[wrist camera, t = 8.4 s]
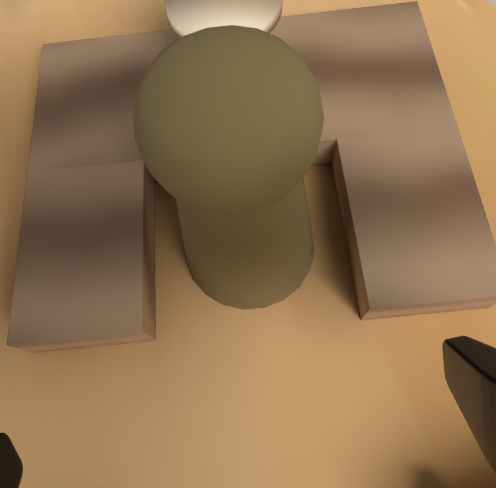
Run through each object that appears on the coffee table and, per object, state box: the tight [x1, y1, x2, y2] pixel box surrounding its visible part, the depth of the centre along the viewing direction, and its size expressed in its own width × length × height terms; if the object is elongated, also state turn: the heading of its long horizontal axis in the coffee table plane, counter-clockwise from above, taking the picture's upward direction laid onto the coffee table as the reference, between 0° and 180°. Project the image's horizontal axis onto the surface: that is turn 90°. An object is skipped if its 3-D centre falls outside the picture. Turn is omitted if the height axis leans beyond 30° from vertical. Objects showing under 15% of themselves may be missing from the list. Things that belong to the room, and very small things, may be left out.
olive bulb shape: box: [133, 25, 324, 309], centre depth 16 cm, size 6×6×11 cm
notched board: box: [7, 0, 496, 352], centre depth 20 cm, size 16×20×6 cm
